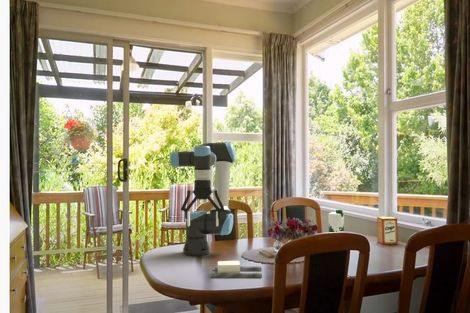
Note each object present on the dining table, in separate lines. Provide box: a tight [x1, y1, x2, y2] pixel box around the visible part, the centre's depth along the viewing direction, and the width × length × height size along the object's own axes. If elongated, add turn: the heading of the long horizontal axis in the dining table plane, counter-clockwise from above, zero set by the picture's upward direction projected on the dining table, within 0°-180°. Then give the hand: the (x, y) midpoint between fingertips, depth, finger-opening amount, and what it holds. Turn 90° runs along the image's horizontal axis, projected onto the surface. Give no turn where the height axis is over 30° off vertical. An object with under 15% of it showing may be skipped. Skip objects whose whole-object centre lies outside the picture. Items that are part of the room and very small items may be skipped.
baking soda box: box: [376, 216, 399, 245], centre depth 222 cm, size 10×6×16 cm
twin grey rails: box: [211, 265, 263, 279], centre depth 164 cm, size 22×12×2 cm, turn 87°
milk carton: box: [327, 209, 345, 233], centre depth 229 cm, size 9×9×20 cm
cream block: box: [217, 260, 241, 273], centre depth 164 cm, size 10×7×5 cm
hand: (202, 225), depth 165 cm, fingers open, 12 cm apart
